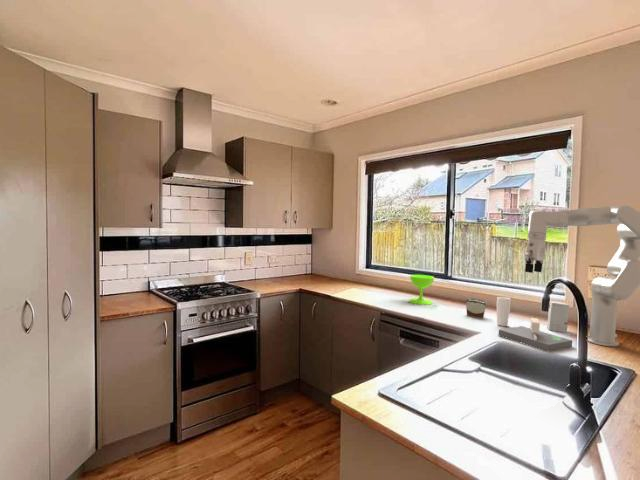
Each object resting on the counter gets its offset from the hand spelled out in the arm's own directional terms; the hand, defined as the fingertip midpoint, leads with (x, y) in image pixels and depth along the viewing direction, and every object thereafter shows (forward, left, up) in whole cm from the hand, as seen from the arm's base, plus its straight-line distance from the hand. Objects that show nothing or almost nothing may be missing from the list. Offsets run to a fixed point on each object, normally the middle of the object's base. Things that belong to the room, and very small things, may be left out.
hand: (533, 272), depth 173 cm
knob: (+4, +5, -29) cm, 30 cm away
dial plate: (+2, +4, -32) cm, 32 cm away
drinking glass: (-9, -21, -32) cm, 39 cm away
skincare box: (-30, -4, -32) cm, 44 cm away
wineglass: (-7, -82, -32) cm, 88 cm away
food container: (-12, -40, -32) cm, 53 cm away
